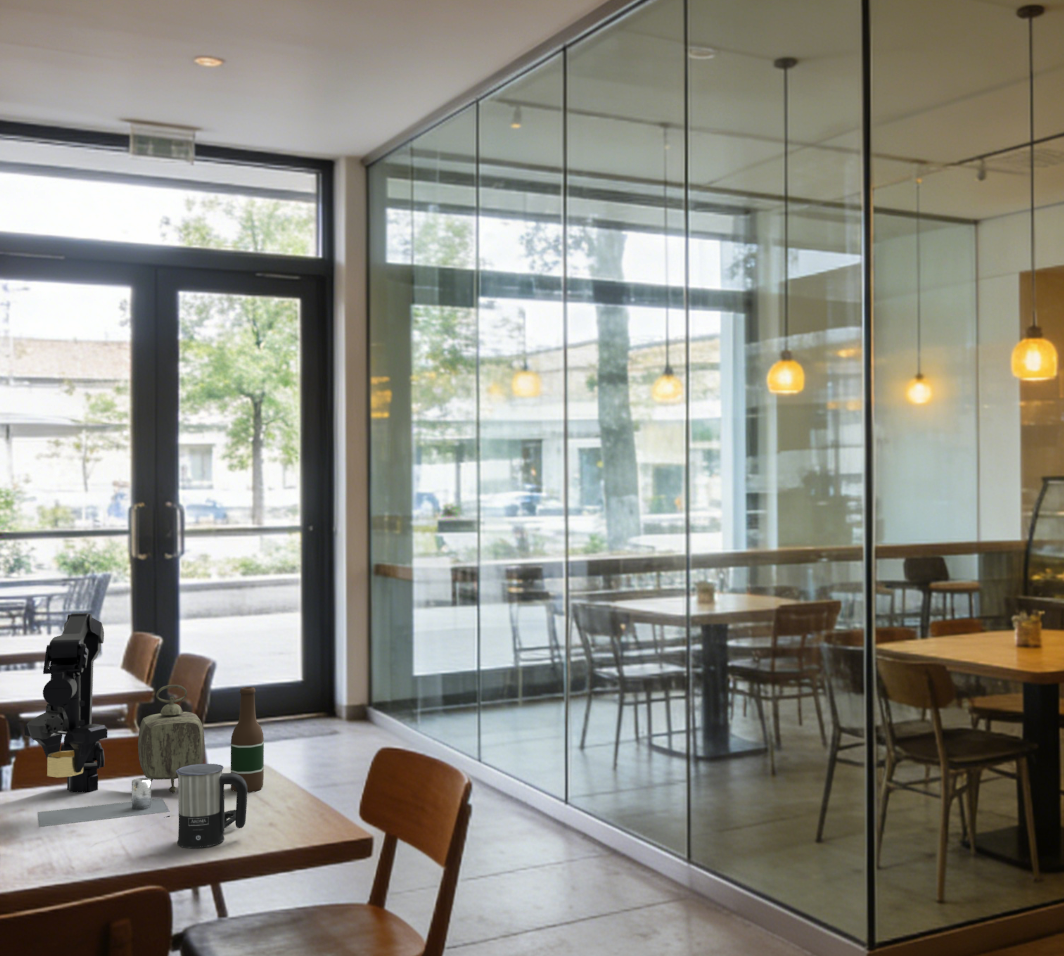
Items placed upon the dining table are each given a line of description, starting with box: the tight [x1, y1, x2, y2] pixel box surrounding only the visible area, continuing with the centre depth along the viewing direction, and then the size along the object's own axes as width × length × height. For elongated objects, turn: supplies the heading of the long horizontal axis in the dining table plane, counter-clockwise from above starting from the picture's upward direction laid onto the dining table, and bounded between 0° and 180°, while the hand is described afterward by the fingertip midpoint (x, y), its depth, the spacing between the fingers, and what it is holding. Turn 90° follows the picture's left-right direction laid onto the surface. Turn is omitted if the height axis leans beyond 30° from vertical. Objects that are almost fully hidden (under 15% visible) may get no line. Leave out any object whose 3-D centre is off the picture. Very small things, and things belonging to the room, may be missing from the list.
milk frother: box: [176, 763, 248, 849], centre depth 230 cm, size 14×16×15 cm
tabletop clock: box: [137, 684, 206, 794], centre depth 265 cm, size 14×9×25 cm, turn 114°
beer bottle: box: [230, 686, 265, 793], centre depth 267 cm, size 8×8×24 cm
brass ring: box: [46, 750, 83, 778], centre depth 240 cm, size 7×7×4 cm
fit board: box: [37, 777, 171, 828], centre depth 244 cm, size 26×12×7 cm, turn 115°
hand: (65, 770), depth 240 cm, fingers closed on brass ring, 7 cm apart
